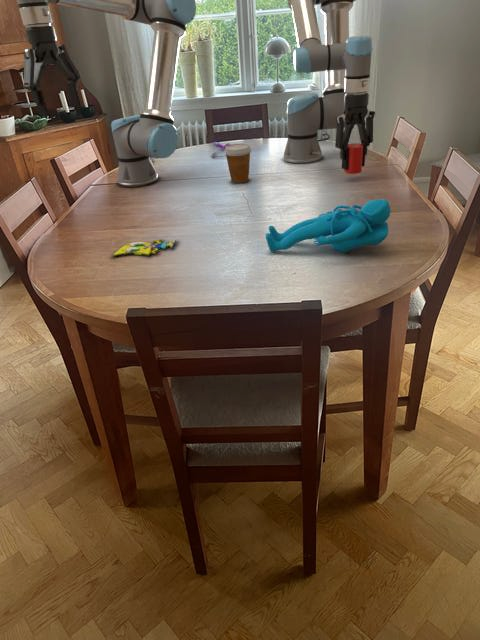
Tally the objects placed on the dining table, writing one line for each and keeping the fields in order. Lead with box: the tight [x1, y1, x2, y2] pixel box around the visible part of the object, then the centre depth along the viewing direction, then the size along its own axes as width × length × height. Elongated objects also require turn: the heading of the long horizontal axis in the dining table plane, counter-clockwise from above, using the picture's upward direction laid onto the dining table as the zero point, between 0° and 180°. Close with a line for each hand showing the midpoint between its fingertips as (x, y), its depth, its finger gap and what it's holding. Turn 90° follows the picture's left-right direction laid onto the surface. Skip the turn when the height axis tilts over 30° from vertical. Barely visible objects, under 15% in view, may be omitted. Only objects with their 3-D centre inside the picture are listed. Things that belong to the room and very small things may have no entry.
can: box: [343, 142, 363, 175], centre depth 162 cm, size 6×6×9 cm
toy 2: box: [265, 198, 392, 254], centre depth 118 cm, size 17×11×30 cm
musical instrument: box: [211, 141, 233, 158], centre depth 212 cm, size 24×2×20 cm
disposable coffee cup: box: [223, 142, 252, 184], centre depth 171 cm, size 10×10×12 cm
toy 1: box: [112, 238, 177, 258], centre depth 129 cm, size 10×1×15 cm
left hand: (61, 111), depth 140 cm, fingers open, 13 cm apart
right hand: (353, 167), depth 163 cm, fingers closed on can, 6 cm apart
